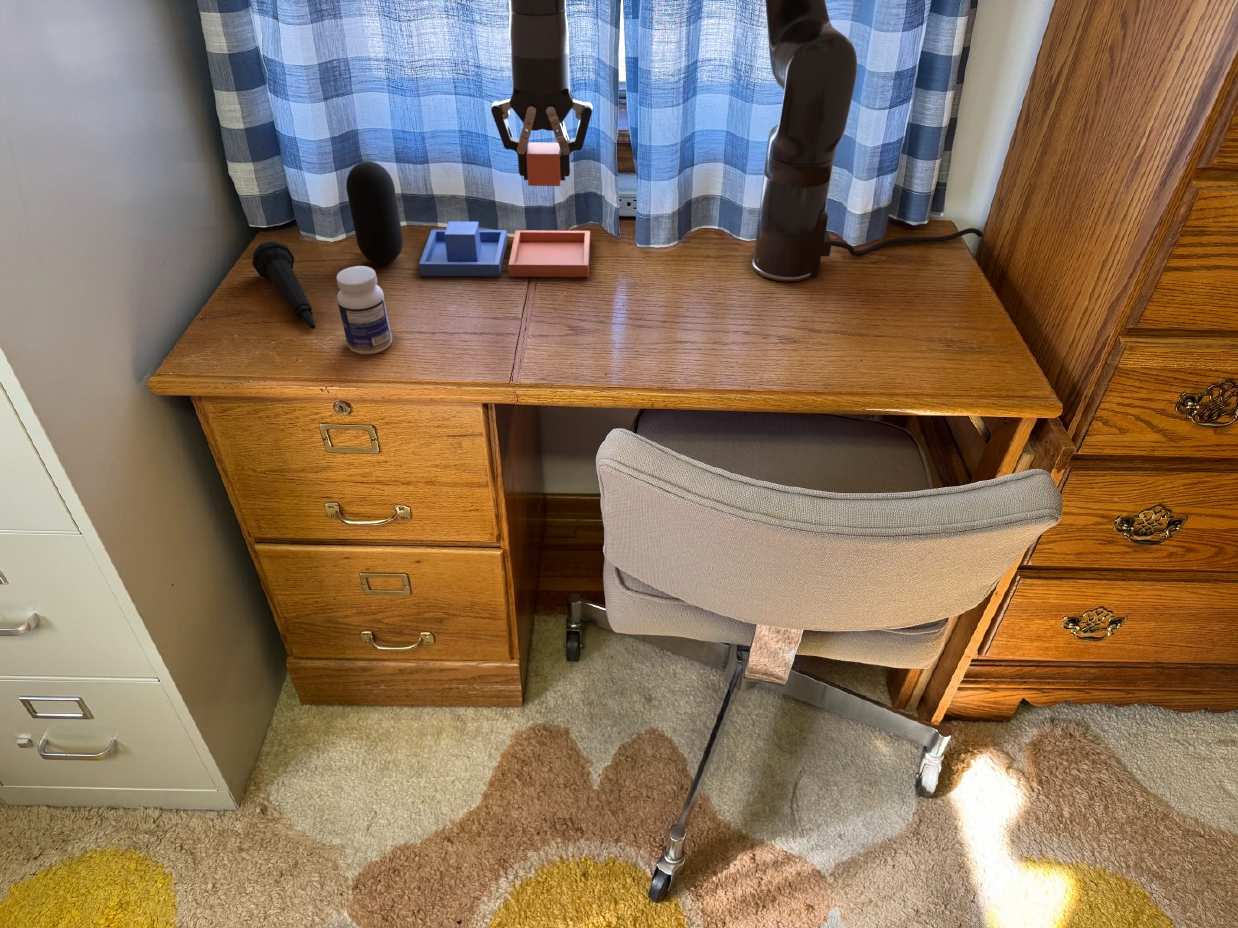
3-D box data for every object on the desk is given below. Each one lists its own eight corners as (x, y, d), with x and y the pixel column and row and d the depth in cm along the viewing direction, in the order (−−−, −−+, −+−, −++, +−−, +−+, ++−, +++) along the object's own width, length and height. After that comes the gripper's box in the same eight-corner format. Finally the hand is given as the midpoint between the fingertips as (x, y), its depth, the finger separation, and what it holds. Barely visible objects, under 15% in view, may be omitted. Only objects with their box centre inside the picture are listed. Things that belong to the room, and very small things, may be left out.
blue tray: (507, 241, 133) (506, 230, 132) (499, 276, 125) (498, 264, 123) (433, 240, 133) (431, 229, 132) (420, 275, 124) (418, 264, 123)
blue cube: (481, 249, 130) (478, 221, 127) (477, 262, 127) (474, 234, 124) (451, 249, 130) (448, 221, 127) (447, 262, 127) (443, 234, 124)
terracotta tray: (590, 242, 134) (590, 230, 132) (588, 277, 125) (588, 265, 123) (516, 241, 133) (515, 230, 132) (509, 276, 125) (508, 264, 123)
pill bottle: (351, 333, 112) (336, 264, 106) (395, 331, 112) (382, 262, 106) (344, 357, 108) (328, 286, 101) (390, 355, 108) (376, 285, 102)
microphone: (330, 344, 115) (284, 269, 126) (336, 308, 112) (288, 234, 123) (289, 345, 112) (245, 268, 123) (294, 308, 109) (249, 231, 120)
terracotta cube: (561, 174, 122) (560, 142, 119) (560, 186, 119) (559, 154, 116) (530, 173, 122) (528, 142, 119) (528, 186, 119) (526, 154, 116)
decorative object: (407, 269, 126) (390, 170, 116) (361, 274, 125) (341, 173, 115) (405, 250, 131) (389, 152, 121) (361, 254, 129) (341, 156, 120)
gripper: (480, 55, 106) (491, 188, 117) (594, 57, 106) (595, 189, 117) (487, 40, 112) (497, 168, 123) (595, 41, 112) (596, 169, 123)
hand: (545, 177), depth 120 cm, fingers closed on terracotta cube, 4 cm apart
